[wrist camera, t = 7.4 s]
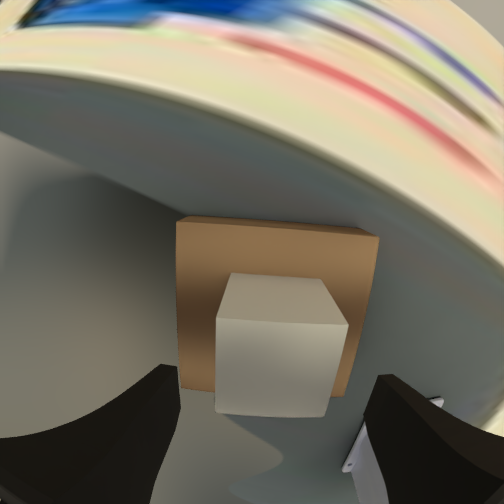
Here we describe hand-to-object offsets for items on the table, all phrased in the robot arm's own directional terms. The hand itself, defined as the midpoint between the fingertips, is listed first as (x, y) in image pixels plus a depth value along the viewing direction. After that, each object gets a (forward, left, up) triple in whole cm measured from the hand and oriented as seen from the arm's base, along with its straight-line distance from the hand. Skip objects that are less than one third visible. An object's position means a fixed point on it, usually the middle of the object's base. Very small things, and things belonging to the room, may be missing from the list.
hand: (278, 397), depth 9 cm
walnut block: (0, 0, -9) cm, 9 cm away
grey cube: (+1, 0, -6) cm, 6 cm away
